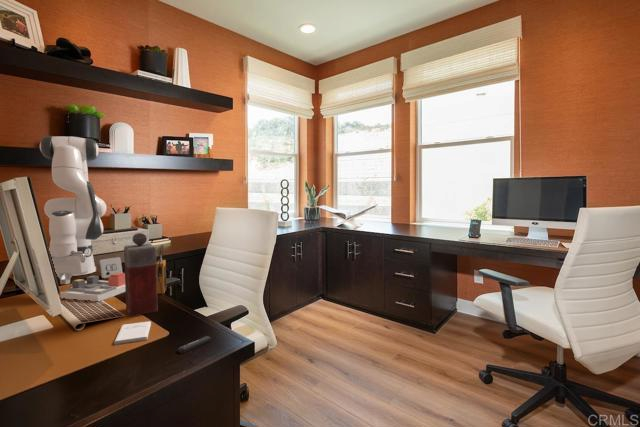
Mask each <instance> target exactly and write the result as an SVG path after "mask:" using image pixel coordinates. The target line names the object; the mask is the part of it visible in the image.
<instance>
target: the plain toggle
mask: <svg viewBox="0 0 640 427" xmlns="http://www.w3.org/2000/svg"><path fill="white" fill-rule="evenodd" d="M99 276H100V275H90V276H86V280H85V282H86V283H87V284H99V280H100V277H99Z"/></svg>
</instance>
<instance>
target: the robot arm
mask: <svg viewBox="0 0 640 427" xmlns="http://www.w3.org/2000/svg"><path fill="white" fill-rule="evenodd" d="M98 145H99V144H98V143H97V141H96V140H94V139H92V138H88V137H86V138H84V137H79V136H64V135H63V136H60V135H59V136H53V135H46V136H43V137H42V138H41V140H40V143H39V150H40V152H41V154H42V156H43V157H45V158H46V159H48V160H52V161H51V177H52V178H51V179H52V181H53V183H54V184H55V185H56V186H57V187H58V188H60V189H63V191H64V190H65V191H67V192H70V193H72V194H75V195H76V196H77V197H58V198H57V197H56V198H51V199H48V200H47V201H46V203H45V204H44V207H43V211H44V214H45V215H46V216H47V217H48V219H49V221H48V222H49V223H48V235H49V237H50V241H49V246H48V247H49V251H50V254H51V257H52V261H53V264H54V268H55V272H56V274H57V276H56V277H58V278H59V281H60V284H61V285H69V284H71V278H72V277H75V276H82V275H84V276H85V275H88V274H92V273H94V272H97V266H96V265H95V260H94V254H93V249H94V248H93V244H92V240H93V241H94V240H97V239H99V238H100V237H101V236H102V235H103V234H104V224H103V221H102V219H101V218H102V217H103V216H104V215H105V214H106V212H107V210H108V209H107V208H108V207H107V203H106V202H105V201H104V199H102V198H100V197H98V196H97V195H96V194H95V190H94V187H93V185H92V183H91V182H90V181H89V169H88V163H89V162H91V161H95V160H96V159H97V158H98V156H99V152H100V148H99V146H98Z"/></svg>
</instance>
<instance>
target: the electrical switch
mask: <svg viewBox="0 0 640 427" xmlns="http://www.w3.org/2000/svg"><path fill="white" fill-rule="evenodd" d="M121 260H122V258H121V257H118V256H117V257H112V258H104V259H99V261H98V264H99V269H100V278H101V279H103V278H104V279H108V277H109V276H111V274H114V273H124V272H123V266H122V261H121Z"/></svg>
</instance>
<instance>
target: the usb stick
mask: <svg viewBox="0 0 640 427" xmlns="http://www.w3.org/2000/svg"><path fill="white" fill-rule="evenodd" d="M211 340H212V337H211V336H207V335H205V336H203V337H201V338H198V339H197V340H193V341H192V342H189V343H187V344H184V345H182V346H179V347H178V348H177V352H178V353H180V354H184V353H187V352H189V351H192V350H193V349H195V348H199V347H200V346H203V345H205V344H207V343H210V342H211Z"/></svg>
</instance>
